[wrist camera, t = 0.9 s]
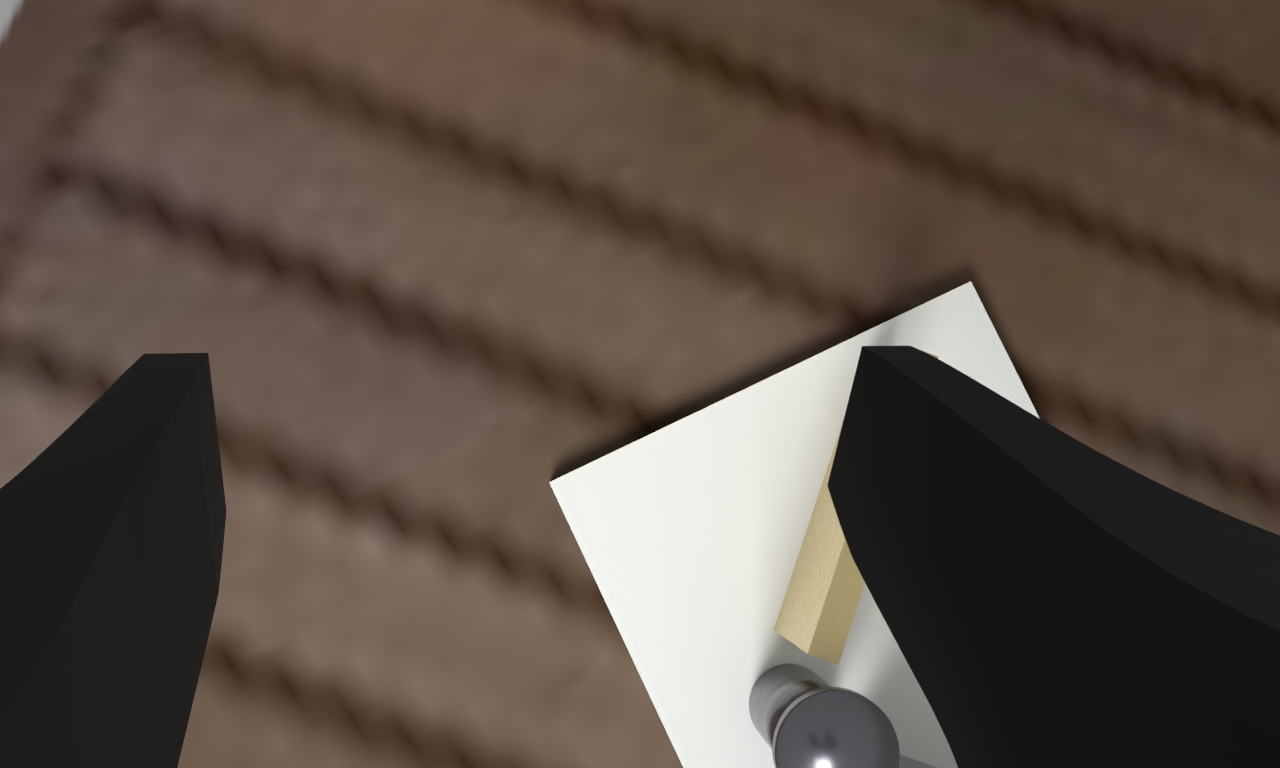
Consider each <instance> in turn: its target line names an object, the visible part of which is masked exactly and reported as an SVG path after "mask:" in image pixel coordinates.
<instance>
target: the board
mask: <svg viewBox="0 0 1280 768" xmlns="http://www.w3.org/2000/svg"><path fill="white" fill-rule="evenodd" d="M862 346H912V347H915V348H917V349H919V350H922V351H924V352H927V353H930V354H933V355H936V356H938V359H939V360H941V361H943V362H945V363H946V364H948V365H950V366H952V367H953V368H955V369H957V370H959V371H960V372H962V373H964V374H966V375H967V376H969V377H971V378H972V379H974V380H976V381H977V382H979V383H981V384H982V385H984V386H986V387H987V388H989V389H991V390H992V391H994V392H996V393H997V394H999V395H1001V396H1002V397H1004V398H1006V399H1008V400H1009V401H1011V402H1013V403H1014V404H1016V405H1018V406H1019V407H1021V408H1023V409H1024V410H1026V411H1028V412H1029V413H1031V414H1033V415H1034V416H1036V417H1038V418H1039V416H1038V414H1037V412H1036V410H1035V408H1034V406H1033V404H1032V402H1031V400H1030V398H1029V396H1028V394H1027V392H1026V390H1025V388H1024V386H1023V384H1022V382H1021V380H1020V378H1019V376H1018V374H1017V372H1016V370H1015V368H1014V366H1013V364H1012V362H1011V360H1010V358H1009V356H1008V354H1007V352H1006V350H1005V348H1004V346H1003V344H1002V342H1001V340H1000V338H999V336H998V334H997V332H996V330H995V328H994V326H993V324H992V322H991V320H990V318H989V316H988V314H987V312H986V310H985V308H984V306H983V304H982V302H981V300H980V298H979V296H978V294H977V292H976V290H975V288H974V286H973V284H972V282H971V281H970V282H968V283H966V284H964V285H962V286H960V287H957V288H955V289H953V290H951V291H949V292H947V293H945V294H943V295H941V296H939V297H937V298H934V299H932V300H930V301H928V302H926V303H924V304H922V305H920V306H918V307H916V308H913V309H911V310H909V311H907V312H905V313H903V314H901V315H899V316H897V317H895V318H892V319H890V320H888V321H886V322H884V323H882V324H880V325H878V326H876V327H874V328H871V329H869V330H867V331H865V332H863V333H861V334H859V335H857V336H855V337H853V338H851V339H848V340H846V341H844V342H842V343H840V344H838V345H836V346H834V347H832V348H830V349H827V350H825V351H823V352H821V353H819V354H817V355H815V356H813V357H811V358H809V359H806V360H804V361H802V362H800V363H798V364H796V365H794V366H792V367H790V368H788V369H785V370H783V371H781V372H779V373H777V374H775V375H773V376H771V377H769V378H767V379H765V380H762V381H760V382H758V383H756V384H754V385H752V386H750V387H748V388H746V389H744V390H741V391H739V392H737V393H735V394H733V395H731V396H729V397H727V398H725V399H723V400H720V401H718V402H716V403H714V404H712V405H710V406H708V407H706V408H704V409H702V410H700V411H697V412H695V413H693V414H691V415H689V416H687V417H685V418H683V419H681V420H679V421H676V422H674V423H672V424H670V425H668V426H666V427H664V428H662V429H660V430H658V431H655V432H653V433H651V434H649V435H647V436H645V437H643V438H641V439H639V440H637V441H634V442H632V443H630V444H628V445H626V446H624V447H622V448H620V449H618V450H616V451H614V452H611V453H609V454H607V455H605V456H603V457H601V458H599V459H597V460H595V461H593V462H590V463H588V464H586V465H584V466H582V467H580V468H578V469H576V470H574V471H572V472H569V473H567V474H565V475H563V476H561V477H559V478H557V479H555V480H553V481H551V482H549V483H550V485H551V487H552V489H553V491H554V494H555V496H556V498H557V500H558V502H559V504H560V506H561V508H562V511H563V513H564V515H565V517H566V519H567V521H568V523H569V525H570V528H571V530H572V532H573V534H574V536H575V538H576V540H577V542H578V545H579V547H580V549H581V551H582V553H583V555H584V557H585V559H586V562H587V564H588V566H589V568H590V570H591V572H592V574H593V576H594V579H595V581H596V583H597V585H598V587H599V589H600V591H601V594H602V596H603V598H604V600H605V602H606V604H607V606H608V608H609V611H610V613H611V615H612V617H613V619H614V621H615V623H616V625H617V628H618V630H619V632H620V634H621V636H622V638H623V640H624V642H625V645H626V647H627V649H628V651H629V653H630V655H631V657H632V659H633V662H634V664H635V666H636V668H637V670H638V672H639V674H640V676H641V679H642V681H643V683H644V685H645V687H646V689H647V691H648V693H649V696H650V698H651V700H652V702H653V704H654V706H655V708H656V710H657V713H658V715H659V717H660V719H661V721H662V723H663V725H664V727H665V730H666V732H667V734H668V736H669V738H670V740H671V742H672V744H673V747H674V749H675V751H676V753H677V755H678V757H679V759H680V762H681V764H682V766H683V768H775V766H774V762H773V755H772V749H771V748H770V746H769V745H768V744H767V743H766V741H765V740H764V739H763V737H762V736H761V735H760V733H759V732H758V731H757V729H756V728H755V726H754V724H753V722H752V720H751V716H750V712H749V698H750V694H751V690H752V688H753V686H754V684H755V682H756V681H757V679H758V678H759V677H760V676H761V675H762V674H763V673H764V672H765V671H767V670H768V669H770V668H772V667H774V666H777V665H781V664H797V665H801V666H804V667H806V668H808V669H809V670H811V671H812V672H814V673H815V674H816V675H818V676H819V677H820V678H822V679H823V680H824V681H825V682H827V683H828V684H829V685H831V686H832V687H842V688H846V689H850V690H853V691H855V692H858V693H860V694H861V695H863V696H865V697H866V698H868V699H869V700H870V701H872V702H873V703H874V704H876V705H877V706H878V707H879V708H880V709H881V710H882V711H883V712H884V713H885V714H886V716H887V717H888V718H889V720H890V722H891V724H892V725H893V727H894V730H895V732H896V735H897V739H898V743H899V750H900V755H903V756H906V757H909V758H911V759H914V760H917V761H920V762H923V763H926V764H929V765H931V766H934V767H937V768H958V766H957V764H956V761H955V759H954V756H953V754H952V751H951V748H950V746H949V744H948V741H947V739H946V737H945V735H944V733H943V731H942V729H941V727H940V725H939V723H938V720H937V718H936V716H935V714H934V712H933V710H932V708H931V706H930V704H929V702H928V700H927V698H926V697H925V695H924V693H923V691H922V689H921V687H920V685H919V683H918V682H917V680H916V678H915V676H914V674H913V672H912V670H911V669H910V667H909V665H908V663H907V661H906V659H905V657H904V655H903V653H902V652H901V650H900V648H899V646H898V644H897V642H896V640H895V639H894V637H893V635H892V633H891V631H890V629H889V627H888V625H887V624H886V622H885V620H884V618H883V616H882V614H881V612H880V610H879V609H878V607H877V605H876V603H875V601H874V599H873V597H872V595H871V593H870V591H869V589H868V587H867V585H866V583H865V585H864V588H863V591H862V594H861V597H860V600H859V603H858V606H857V609H856V613H855V616H854V619H853V622H852V625H851V628H850V631H849V634H848V637H847V640H846V643H845V646H844V650H843V653H842V656H841V659H840V662H839V665H837V664H835V663H832V662H829V661H826V660H823V659H820V658H818V657H815V656H812V655H809V654H807V653H805V652H804V651H803V650H801V649H800V648H798V647H797V646H796V645H794V644H793V643H791V642H790V641H789V640H787V639H786V638H784V637H783V636H782V635H780V634H779V633H777V632H776V631H775V630H774V627H775V624H776V621H777V618H778V615H779V612H780V609H781V606H782V603H783V600H784V597H785V594H786V591H787V588H788V585H789V582H790V579H791V576H792V573H793V570H794V567H795V564H796V561H797V558H798V555H799V552H800V549H801V546H802V543H803V540H804V537H805V534H806V531H807V528H808V525H809V522H810V519H811V516H812V513H813V510H814V507H815V504H816V501H817V498H818V495H819V492H820V489H821V486H822V483H823V480H824V477H825V473H826V470H827V467H828V464H829V461H830V458H831V455H832V452H833V449H834V446H835V443H836V440H837V437H838V434H839V431H840V428H841V425H842V422H843V419H844V416H845V412H846V408H847V404H848V400H849V396H850V392H851V388H852V384H853V380H854V376H855V372H856V368H857V364H858V360H859V356H860V352H861V348H862ZM1039 419H1040V418H1039Z"/></svg>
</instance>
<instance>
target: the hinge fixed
mask: <svg viewBox="0 0 1280 768" xmlns="http://www.w3.org/2000/svg"><path fill="white" fill-rule="evenodd" d="M749 712H750V716H751V720H752V722H753V724H754V726H755V728H756V729H757V731H758V732H759V733H760V735H761V736H762V737H763V739H764V740H765V741H766V743H767V744H768V745H769V746H770V748H771V749H772V755H773V762H774V766H775V768H937V767H934V766H931V765H929V764H926V763H923V762H920V761H917V760H914V759H911V758H909V757H906V756H903V755H900V750H899V743H898V739H897V735H896V732H895V730H894V727H893V725H892V724H891V722H890V720H889V718H888V717H887V716H886V714H885V713H884V712H883V711H882V710H881V709H880V708H879V707H878V706H877V705H876V704H874V703H873V702H872V701H870V700H869V699H868V698H866V697H865V696H863V695H861V694H860V693H858V692H855V691H853V690H850V689H846V688H842V687H832V686H831V685H829V684H828V683H827V682H825V681H824V680H823V679H822V678H820V677H819V676H818V675H816V674H815V673H814V672H812V671H811V670H809V669H808V668H806V667H804V666H801V665H797V664H781V665H777V666H774V667H772V668H770V669H768V670H767V671H765V672H764V673H763V674H762V675H761V676H760V677H759V678H758V679H757V681H756V682H755V684H754V686H753V688H752V690H751V694H750V698H749Z"/></svg>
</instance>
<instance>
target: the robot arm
mask: <svg viewBox="0 0 1280 768" xmlns="http://www.w3.org/2000/svg"><path fill="white" fill-rule="evenodd" d="M827 486H828V489H829V492H830V495H831V499H832V502H833V505H834V508H835V511H836V514H837V517H838V520H839V523H840V526H841V529H842V531H843V534H844V537H845V539H846V542H847V545H848V547H849V550H850V553H851V556H852V558H853V560H854V562H855V564H856V566H857V568H858V570H859V572H860V574H861V576H862V578H863V580H864V582H865V583H866V585H867V587H868V589H869V591H870V593H871V595H872V597H873V599H874V601H875V603H876V605H877V607H878V609H879V610H880V612H881V614H882V616H883V618H884V620H885V622H886V624H887V625H888V627H889V629H890V631H891V633H892V635H893V637H894V639H895V640H896V642H897V644H898V646H899V648H900V650H901V652H902V653H903V655H904V657H905V659H906V661H907V663H908V665H909V667H910V669H911V670H912V672H913V674H914V676H915V678H916V680H917V682H918V683H919V685H920V687H921V689H922V691H923V693H924V695H925V697H926V698H927V700H928V702H929V704H930V706H931V708H932V710H933V712H934V714H935V716H936V718H937V720H938V723H939V725H940V727H941V729H942V731H943V733H944V735H945V737H946V739H947V741H948V744H949V746H950V748H951V751H952V754H953V756H954V759H955V761H956V764H957V766H958V768H1280V536H1279V535H1277V534H1274V533H1271V532H1268V531H1266V530H1263V529H1261V528H1259V527H1256V526H1254V525H1251V524H1249V523H1246V522H1244V521H1241V520H1239V519H1236V518H1234V517H1231V516H1229V515H1227V514H1225V513H1222V512H1220V511H1218V510H1216V509H1213V508H1211V507H1209V506H1207V505H1205V504H1202V503H1200V502H1198V501H1196V500H1193V499H1191V498H1189V497H1187V496H1184V495H1182V494H1180V493H1178V492H1175V491H1173V490H1171V489H1169V488H1167V487H1165V486H1163V485H1161V484H1159V483H1157V482H1155V481H1153V480H1151V479H1149V478H1147V477H1145V476H1143V475H1141V474H1139V473H1137V472H1135V471H1133V470H1131V469H1129V468H1127V467H1126V466H1124V465H1122V464H1120V463H1118V462H1116V461H1114V460H1112V459H1110V458H1109V457H1107V456H1105V455H1103V454H1101V453H1099V452H1097V451H1095V450H1094V449H1092V448H1090V447H1088V446H1086V445H1085V444H1083V443H1081V442H1079V441H1078V440H1076V439H1074V438H1072V437H1070V436H1069V435H1067V434H1065V433H1063V432H1062V431H1060V430H1058V429H1056V428H1055V427H1053V426H1051V425H1050V424H1048V423H1046V422H1044V421H1043V420H1041V419H1039V418H1038V417H1036V416H1034V415H1033V414H1031V413H1029V412H1028V411H1026V410H1024V409H1023V408H1021V407H1019V406H1018V405H1016V404H1014V403H1013V402H1011V401H1009V400H1008V399H1006V398H1004V397H1002V396H1001V395H999V394H997V393H996V392H994V391H992V390H991V389H989V388H987V387H986V386H984V385H982V384H981V383H979V382H977V381H976V380H974V379H972V378H971V377H969V376H967V375H966V374H964V373H962V372H960V371H959V370H957V369H955V368H953V367H952V366H950V365H948V364H946V363H945V362H943V361H941V360H939V359H937V358H935V357H933V356H931V355H929V354H927V353H926V352H923V351H921V350H919V349H917V348H915V347H912V346H862V348H861V352H860V356H859V360H858V364H857V368H856V372H855V376H854V380H853V384H852V388H851V392H850V396H849V400H848V404H847V408H846V412H845V416H844V420H843V424H842V428H841V432H840V436H839V441H838V445H837V449H836V453H835V457H834V461H833V465H832V469H831V473H830V477H829V481H828V485H827ZM225 519H226V504H225V495H224V487H223V478H222V469H221V461H220V452H219V444H218V435H217V426H216V418H215V409H214V400H213V392H212V383H211V374H210V366H209V357H208V353H178V354H144V355H143V356H141V357H140V358H139V359H138V360H137V361H136V362H135V363H134V364H133V365H132V366H131V367H130V368H129V369H128V370H126V371H125V372H124V373H123V374H122V375H121V376H120V377H119V378H118V379H117V380H116V381H115V382H114V383H113V384H112V385H111V386H110V387H109V388H108V389H107V390H106V391H105V392H104V393H103V394H102V395H101V396H100V397H99V398H98V399H97V400H96V401H95V402H94V403H93V404H92V405H91V406H90V407H89V408H88V409H87V410H86V411H85V412H84V413H83V414H82V415H81V416H80V417H79V418H78V419H77V420H76V421H75V422H74V423H73V424H72V425H71V426H70V427H69V428H68V429H67V430H66V431H65V432H64V433H62V434H61V435H60V436H59V437H58V438H57V439H56V440H55V441H54V442H53V443H52V444H51V445H50V446H49V447H47V448H46V449H45V450H44V451H43V452H42V453H41V454H40V455H39V456H38V457H37V458H36V459H35V460H34V461H33V462H31V463H30V464H29V465H28V466H27V467H26V468H25V469H24V470H23V471H21V472H20V473H19V474H18V475H17V476H15V477H14V478H13V479H12V480H11V481H9V482H8V483H7V484H6V485H5V486H3V487H2V488H1V489H0V768H177V766H178V762H179V758H180V753H181V749H182V745H183V741H184V737H185V733H186V728H187V724H188V720H189V716H190V712H191V707H192V703H193V699H194V695H195V691H196V687H197V682H198V678H199V674H200V670H201V666H202V662H203V657H204V653H205V649H206V644H207V640H208V636H209V632H210V627H211V623H212V619H213V614H214V610H215V606H216V601H217V597H218V591H219V582H220V572H221V563H222V553H223V541H224V530H225Z"/></svg>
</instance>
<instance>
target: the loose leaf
mask: <svg viewBox="0 0 1280 768" xmlns="http://www.w3.org/2000/svg"><path fill="white" fill-rule="evenodd" d="M921 351H922V350H921ZM923 352H924V351H923ZM926 353H927V352H926ZM927 354H929V355H931V356H933V357H935V358H937V359H938V356H936V355H933V354H930V353H927ZM843 420H844V419H843ZM842 424H843V422H842ZM841 428H842V425H841ZM841 428H840V431H839V434H838V437H837V440H836V443H835V446H834V449H833V452H832V455H831V458H830V461H829V464H828V467H827V470H826V473H825V477H824V480H823V483H822V486H821V489H820V492H819V495H818V498H817V501H816V504H815V507H814V510H813V513H812V516H811V519H810V522H809V525H808V528H807V531H806V534H805V537H804V540H803V543H802V546H801V549H800V552H799V555H798V558H797V561H796V564H795V567H794V570H793V573H792V576H791V579H790V582H789V585H788V588H787V591H786V594H785V597H784V600H783V603H782V606H781V609H780V612H779V615H778V618H777V621H776V624H775V627H774V630H775V631H776V632H777V633H779V634H780V635H782V636H783V637H784V638H786V639H787V640H789V641H790V642H791V643H793V644H794V645H796V646H797V647H798V648H800V649H801V650H803V651H804V652H805V653H807V654H809V655H812V656H815V657H818V658H820V659H823V660H826V661H829V662H832V663H835V664H837V665H839V662H840V659H841V656H842V653H843V650H844V646H845V643H846V640H847V637H848V634H849V631H850V628H851V625H852V622H853V619H854V616H855V613H856V609H857V606H858V603H859V600H860V597H861V594H862V591H863V588H864V585H865V582H864V580H863V578H862V576H861V574H860V572H859V570H858V568H857V566H856V564H855V562H854V560H853V558H852V556H851V553H850V550H849V547H848V545H847V542H846V539H845V537H844V534H843V531H842V529H841V526H840V523H839V520H838V517H837V514H836V511H835V508H834V505H833V502H832V499H831V495H830V492H829V489H828V486H827V485H828V481H829V477H830V473H831V469H832V465H833V461H834V457H835V453H836V449H837V445H838V441H839V436H840V432H841Z"/></svg>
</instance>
